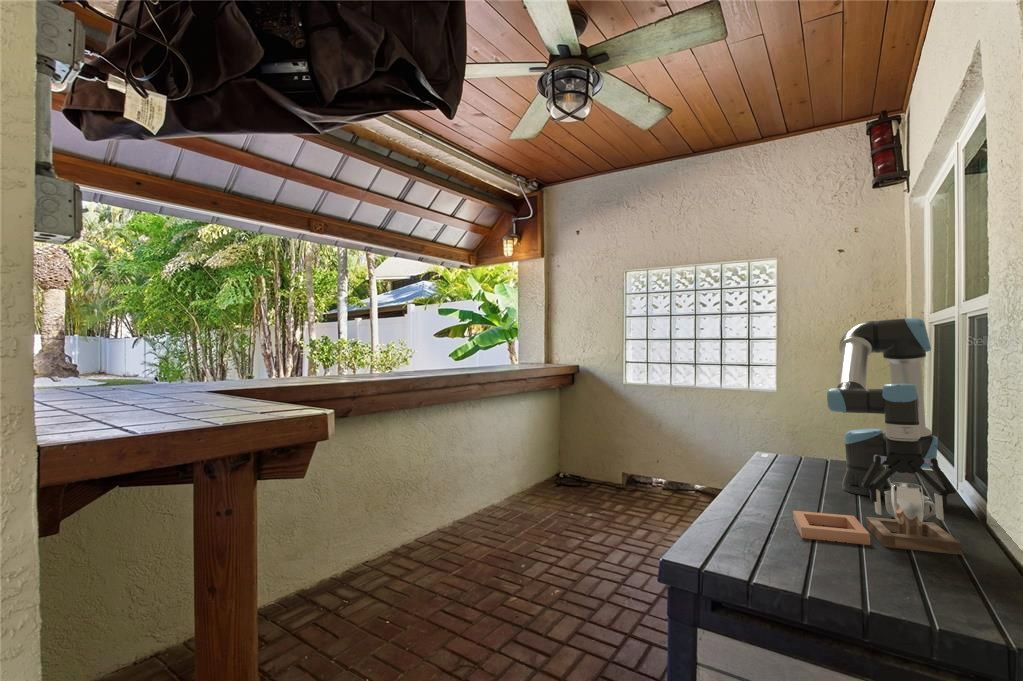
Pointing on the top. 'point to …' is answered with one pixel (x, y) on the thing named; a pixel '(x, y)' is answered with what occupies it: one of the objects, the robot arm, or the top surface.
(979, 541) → the top surface
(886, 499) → the teacup
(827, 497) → the top surface
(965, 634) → the top surface
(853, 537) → the terracotta holder
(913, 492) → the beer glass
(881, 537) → the walnut holder
